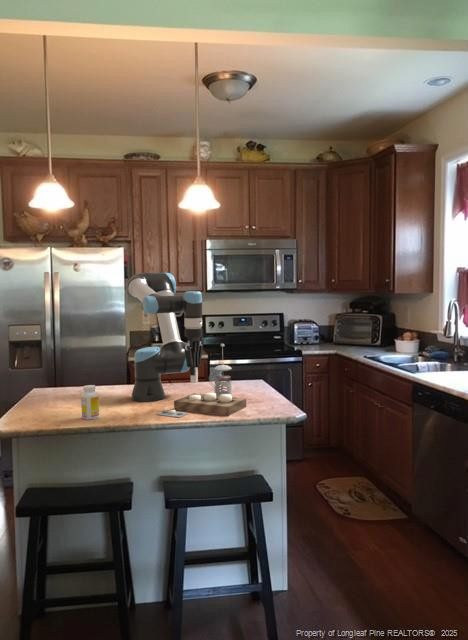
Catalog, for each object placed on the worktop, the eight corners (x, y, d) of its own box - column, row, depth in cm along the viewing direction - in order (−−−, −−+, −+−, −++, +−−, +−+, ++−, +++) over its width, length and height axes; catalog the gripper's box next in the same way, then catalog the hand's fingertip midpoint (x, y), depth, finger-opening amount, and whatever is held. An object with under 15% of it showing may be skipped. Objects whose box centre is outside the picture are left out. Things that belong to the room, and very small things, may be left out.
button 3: (217, 403, 212) (217, 396, 212) (223, 401, 216) (223, 393, 216) (228, 404, 210) (228, 397, 209) (234, 402, 214) (233, 394, 214)
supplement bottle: (100, 415, 207) (99, 384, 206) (97, 419, 201) (95, 387, 200) (84, 416, 207) (83, 384, 206) (79, 420, 200) (78, 387, 199)
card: (156, 414, 207) (156, 411, 207) (166, 410, 213) (166, 407, 213) (179, 417, 202) (179, 413, 202) (188, 413, 208) (188, 409, 208)
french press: (229, 400, 229) (229, 345, 227) (205, 399, 233) (204, 344, 231) (236, 396, 238) (236, 342, 237) (213, 394, 242) (212, 342, 240)
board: (174, 409, 215) (173, 400, 215) (194, 401, 230) (194, 393, 229) (228, 415, 204) (228, 406, 203) (246, 406, 218) (246, 398, 217)
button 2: (202, 401, 215) (202, 394, 215) (208, 399, 220) (208, 392, 219) (212, 403, 213) (212, 395, 213) (218, 400, 217) (218, 393, 217)
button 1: (187, 404, 219) (187, 396, 219) (193, 401, 223) (193, 394, 223) (197, 405, 217) (197, 397, 216) (203, 402, 221) (203, 395, 221)
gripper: (192, 329, 210) (193, 386, 212) (208, 326, 222) (209, 380, 224) (177, 328, 213) (178, 384, 216) (194, 325, 225) (194, 378, 227)
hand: (194, 382), depth 220 cm, fingers closed
